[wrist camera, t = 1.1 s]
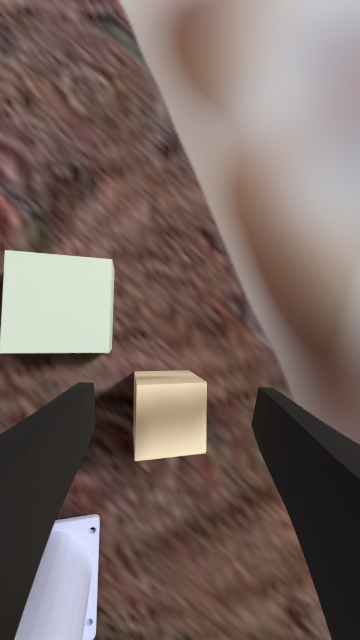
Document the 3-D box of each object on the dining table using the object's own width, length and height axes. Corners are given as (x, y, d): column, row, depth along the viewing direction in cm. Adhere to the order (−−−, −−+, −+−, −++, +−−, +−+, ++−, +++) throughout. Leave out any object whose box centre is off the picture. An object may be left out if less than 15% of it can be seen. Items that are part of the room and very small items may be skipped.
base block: (111, 349, 19) (108, 352, 17) (20, 349, 18) (-1, 353, 15) (114, 269, 20) (112, 259, 17) (24, 262, 18) (5, 250, 15)
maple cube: (187, 424, 21) (205, 452, 16) (133, 428, 20) (134, 461, 15) (188, 370, 21) (206, 382, 16) (134, 371, 20) (136, 385, 15)
